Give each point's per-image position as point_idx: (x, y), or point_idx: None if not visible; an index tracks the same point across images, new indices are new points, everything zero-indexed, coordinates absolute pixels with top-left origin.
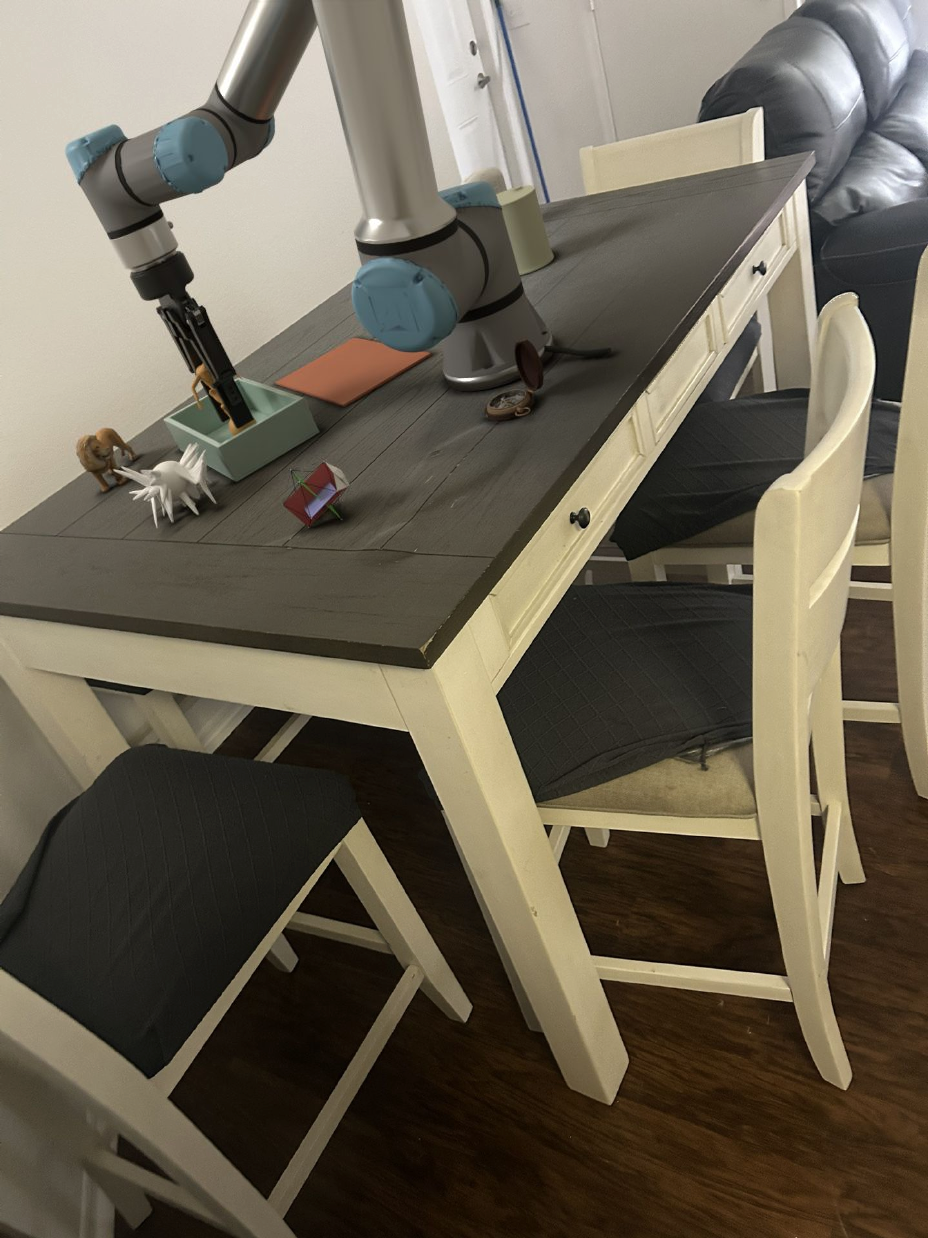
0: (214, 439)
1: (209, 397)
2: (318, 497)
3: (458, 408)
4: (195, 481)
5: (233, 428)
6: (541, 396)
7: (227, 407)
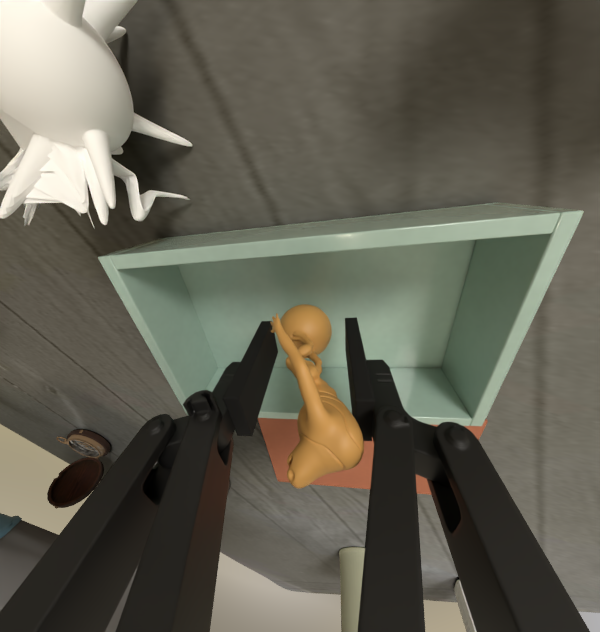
0: (409, 278)
1: (357, 357)
2: None
3: (131, 433)
4: (19, 151)
5: (289, 317)
6: None
7: (246, 352)
